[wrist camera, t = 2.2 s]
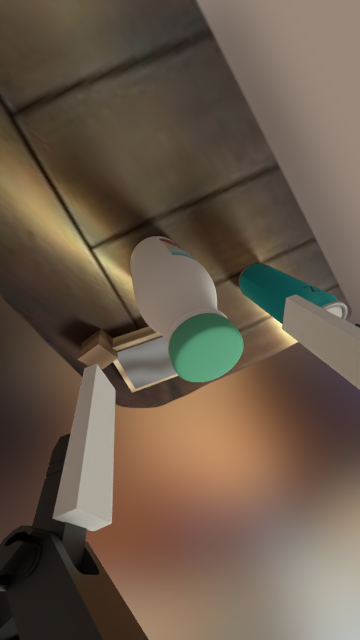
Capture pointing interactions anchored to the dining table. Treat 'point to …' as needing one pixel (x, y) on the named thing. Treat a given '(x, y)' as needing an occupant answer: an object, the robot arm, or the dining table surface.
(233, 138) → the dining table surface
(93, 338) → the tan wooden block
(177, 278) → the milk bottle
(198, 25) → the dining table surface
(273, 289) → the beverage can
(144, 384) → the wooden picture frame
